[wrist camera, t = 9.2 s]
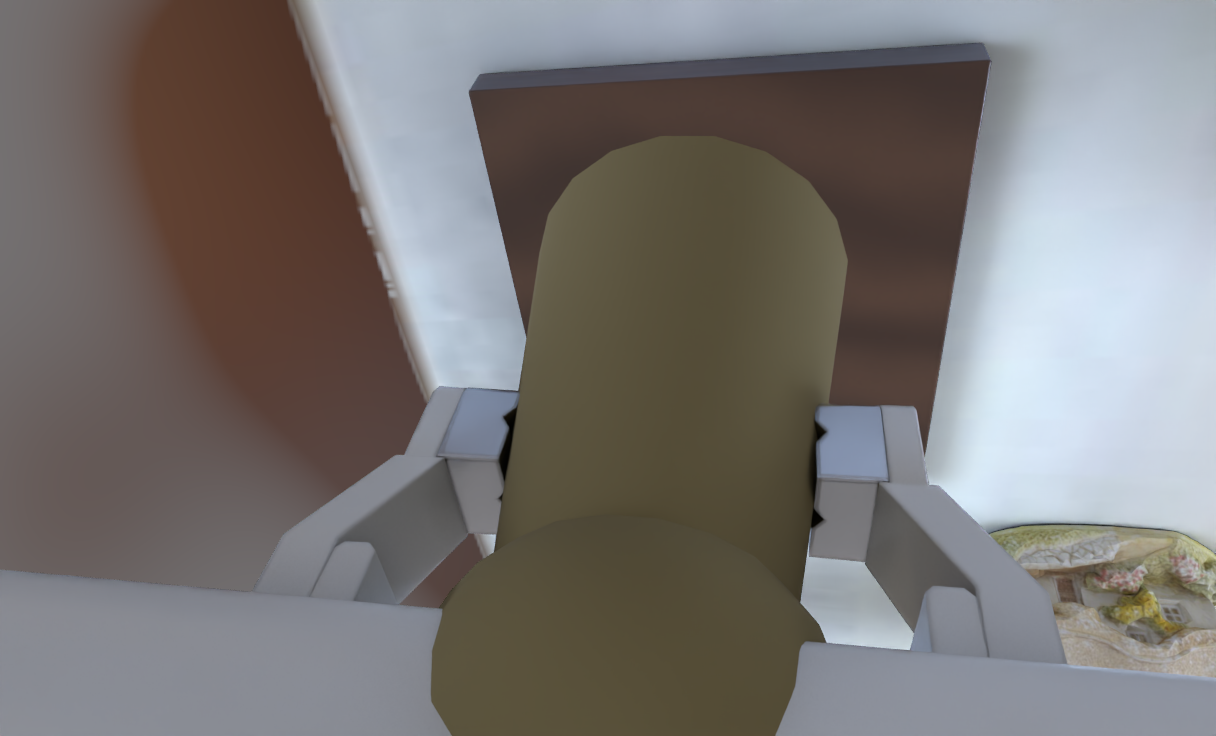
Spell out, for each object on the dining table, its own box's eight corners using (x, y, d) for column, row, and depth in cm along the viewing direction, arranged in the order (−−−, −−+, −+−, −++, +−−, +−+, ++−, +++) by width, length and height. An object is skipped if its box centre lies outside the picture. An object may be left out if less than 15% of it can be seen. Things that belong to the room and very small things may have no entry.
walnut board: (913, 477, 43) (917, 501, 42) (567, 467, 47) (561, 489, 46) (983, 41, 29) (992, 60, 28) (478, 73, 33) (467, 91, 31)
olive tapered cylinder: (535, 365, 19) (349, 924, 11) (544, 110, 15) (260, 696, 7) (805, 410, 19) (821, 1023, 11) (889, 161, 15) (1015, 843, 7)
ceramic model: (1277, 545, 43) (1382, 742, 35) (1164, 660, 50) (1231, 843, 43) (989, 500, 44) (1032, 682, 36) (921, 620, 51) (945, 792, 44)
